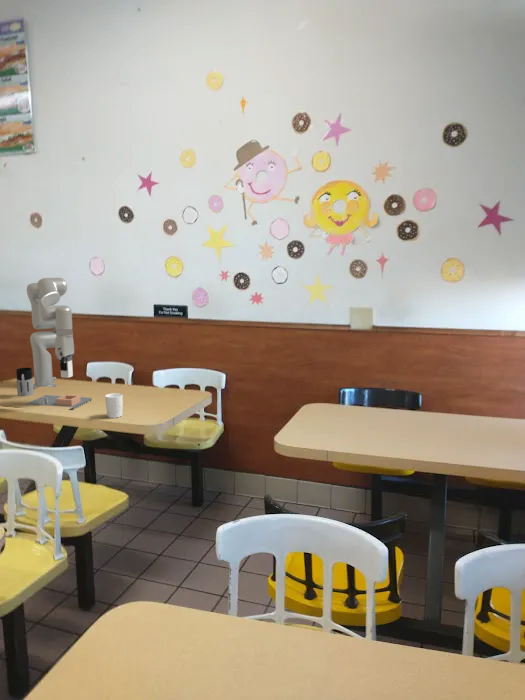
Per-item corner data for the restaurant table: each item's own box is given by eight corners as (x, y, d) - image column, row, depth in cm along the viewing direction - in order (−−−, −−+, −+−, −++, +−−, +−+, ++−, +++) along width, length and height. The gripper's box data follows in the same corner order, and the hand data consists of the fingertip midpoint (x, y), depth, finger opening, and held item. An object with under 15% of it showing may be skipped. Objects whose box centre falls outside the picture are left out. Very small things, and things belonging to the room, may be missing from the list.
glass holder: (35, 394, 293) (33, 367, 291) (33, 400, 280) (31, 372, 277) (17, 395, 291) (15, 367, 288) (14, 402, 277) (12, 373, 275)
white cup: (103, 418, 251) (102, 397, 249) (110, 413, 259) (109, 392, 257) (119, 418, 250) (118, 397, 248) (126, 414, 258) (125, 393, 256)
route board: (45, 397, 286) (45, 389, 285) (91, 400, 281) (91, 392, 280) (25, 407, 269) (24, 398, 268) (73, 410, 264) (72, 401, 263)
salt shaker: (65, 375, 270) (64, 355, 269) (73, 375, 270) (71, 356, 268) (60, 377, 266) (59, 357, 265) (68, 377, 266) (67, 357, 264)
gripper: (66, 330, 273) (68, 365, 276) (47, 334, 257) (50, 372, 260) (80, 330, 272) (82, 366, 275) (62, 335, 256) (64, 373, 259)
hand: (66, 369), depth 267 cm, fingers closed on salt shaker, 4 cm apart
